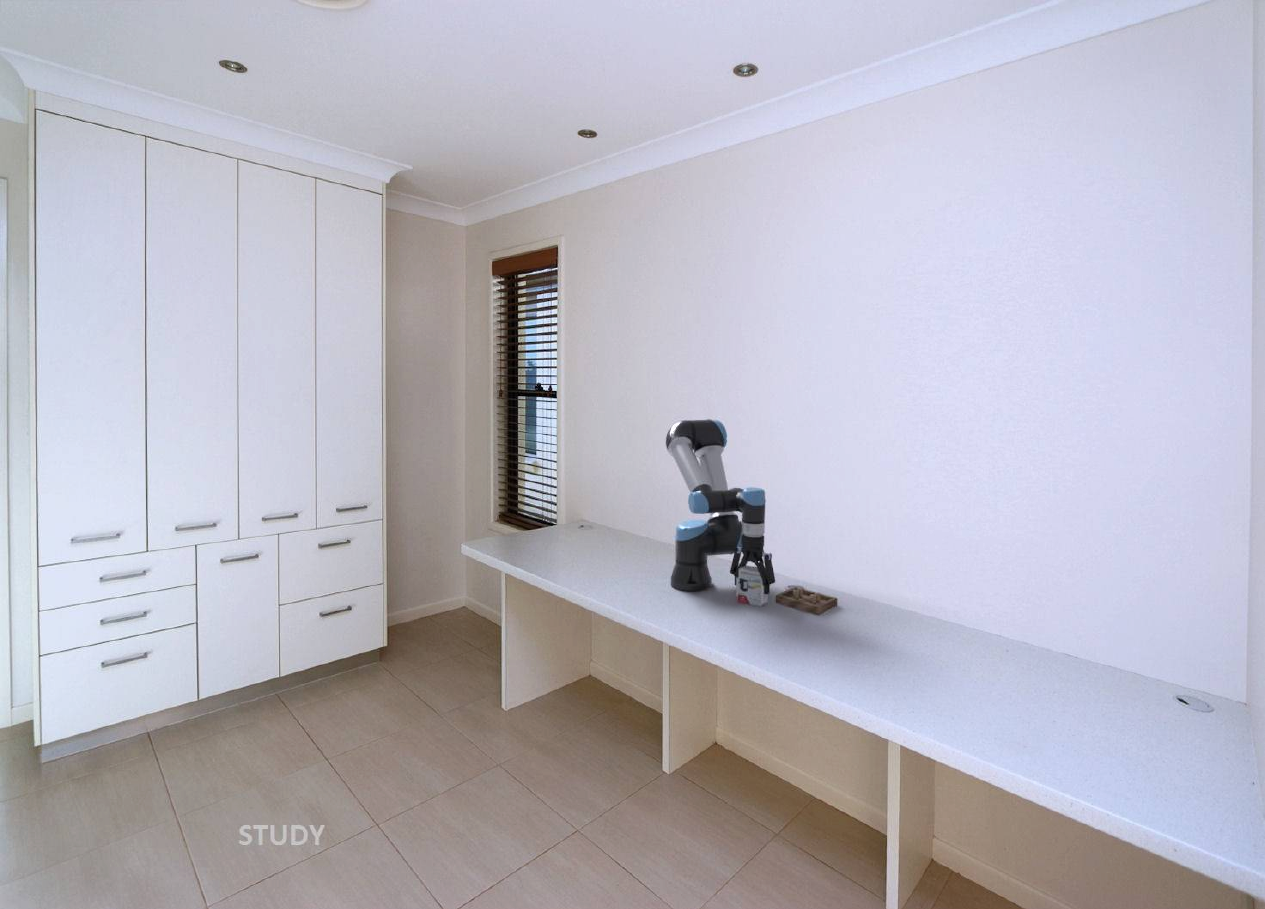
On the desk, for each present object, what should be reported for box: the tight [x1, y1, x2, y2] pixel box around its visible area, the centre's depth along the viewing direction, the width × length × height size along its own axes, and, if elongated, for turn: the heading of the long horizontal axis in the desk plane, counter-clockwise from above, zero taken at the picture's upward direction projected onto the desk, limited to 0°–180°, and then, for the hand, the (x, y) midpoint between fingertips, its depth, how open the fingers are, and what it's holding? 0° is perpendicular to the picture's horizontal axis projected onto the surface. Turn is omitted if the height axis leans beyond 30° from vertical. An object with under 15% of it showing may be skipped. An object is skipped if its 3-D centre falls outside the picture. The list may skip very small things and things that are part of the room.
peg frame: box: [775, 586, 838, 616], centre depth 207 cm, size 16×12×4 cm
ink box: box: [737, 564, 764, 607], centre depth 209 cm, size 9×5×12 cm, turn 62°
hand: (751, 598), depth 210 cm, fingers closed on ink box, 9 cm apart
